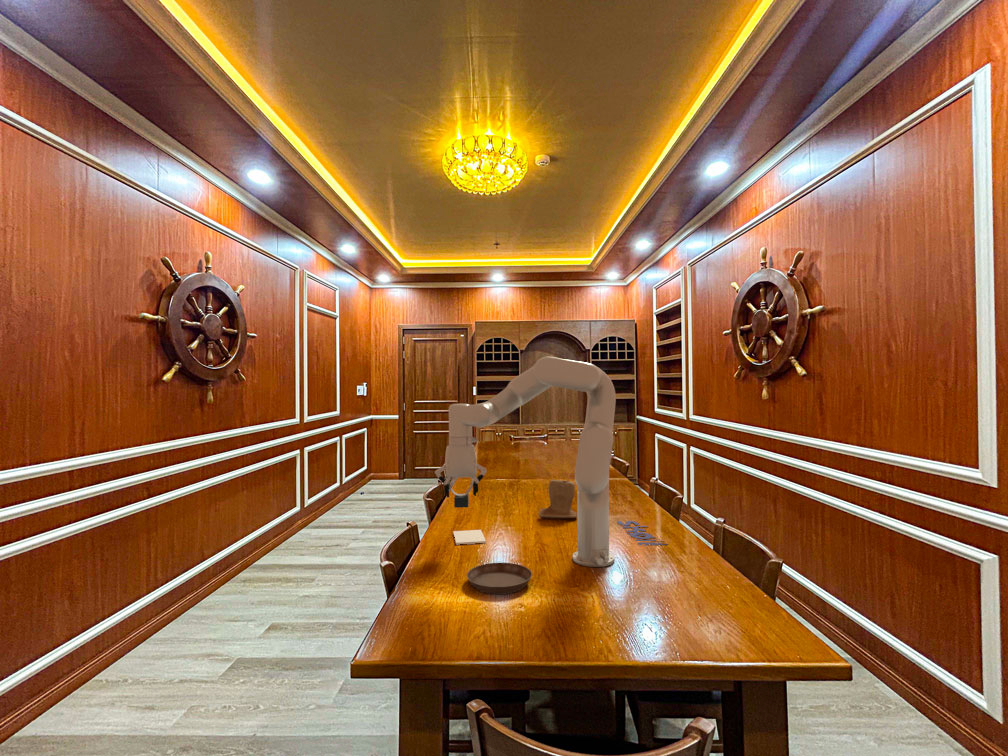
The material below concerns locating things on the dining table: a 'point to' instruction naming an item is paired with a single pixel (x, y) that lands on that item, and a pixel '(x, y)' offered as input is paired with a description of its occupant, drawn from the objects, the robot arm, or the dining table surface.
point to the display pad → (469, 537)
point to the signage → (639, 533)
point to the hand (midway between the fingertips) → (461, 495)
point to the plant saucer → (499, 577)
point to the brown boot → (560, 500)
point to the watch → (460, 495)
